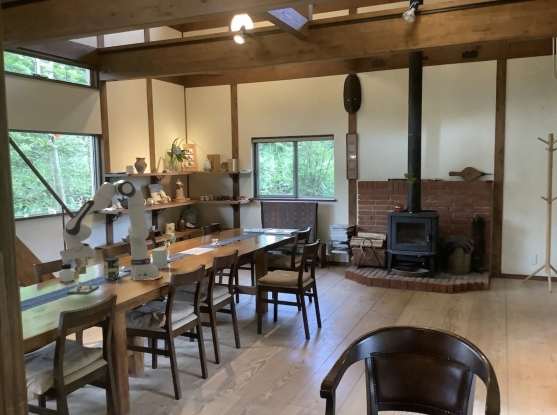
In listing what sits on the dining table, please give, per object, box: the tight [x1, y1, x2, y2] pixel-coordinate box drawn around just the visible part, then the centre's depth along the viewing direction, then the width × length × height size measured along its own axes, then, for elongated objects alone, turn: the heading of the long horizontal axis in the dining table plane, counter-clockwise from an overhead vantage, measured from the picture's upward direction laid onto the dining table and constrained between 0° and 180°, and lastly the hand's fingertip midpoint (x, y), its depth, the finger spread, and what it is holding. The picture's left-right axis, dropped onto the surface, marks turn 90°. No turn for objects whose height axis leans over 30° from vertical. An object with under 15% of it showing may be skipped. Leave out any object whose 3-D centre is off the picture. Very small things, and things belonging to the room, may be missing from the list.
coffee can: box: [103, 257, 120, 280], centre depth 336 cm, size 10×10×14 cm
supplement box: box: [151, 248, 168, 269], centre depth 364 cm, size 9×9×15 cm
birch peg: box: [76, 257, 87, 275], centre depth 301 cm, size 5×5×10 cm
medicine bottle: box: [58, 262, 75, 283], centre depth 330 cm, size 7×7×12 cm
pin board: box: [66, 281, 99, 295], centre depth 303 cm, size 14×14×5 cm
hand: (82, 265), depth 301 cm, fingers closed on birch peg, 5 cm apart
